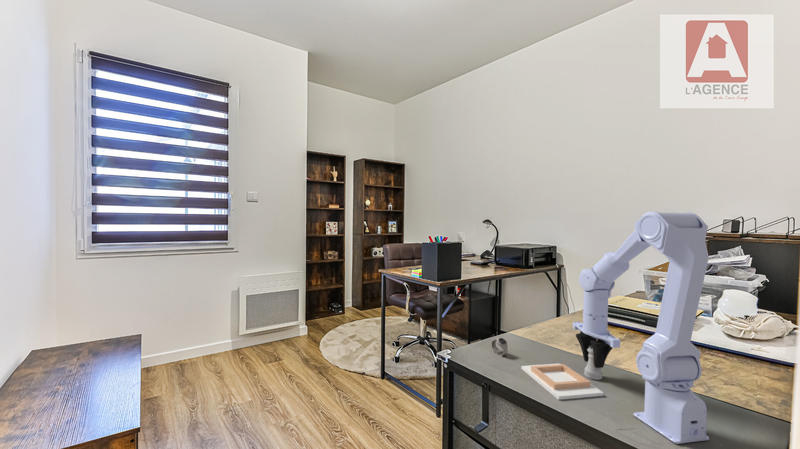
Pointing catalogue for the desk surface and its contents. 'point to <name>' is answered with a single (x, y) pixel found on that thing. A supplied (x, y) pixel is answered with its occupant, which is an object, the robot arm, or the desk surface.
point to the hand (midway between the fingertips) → (593, 364)
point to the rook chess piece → (592, 367)
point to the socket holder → (562, 381)
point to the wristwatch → (502, 344)
